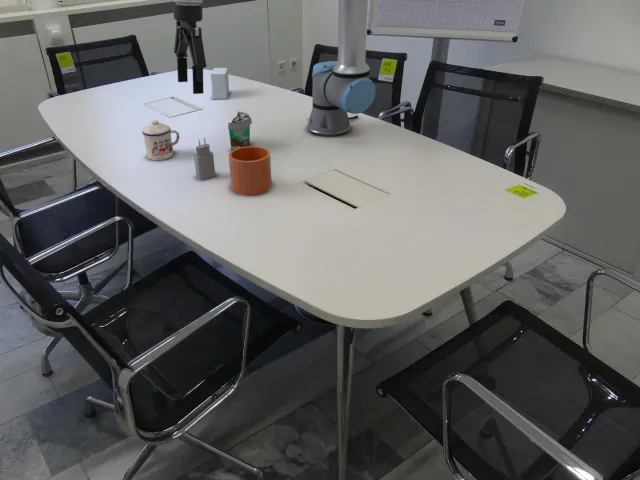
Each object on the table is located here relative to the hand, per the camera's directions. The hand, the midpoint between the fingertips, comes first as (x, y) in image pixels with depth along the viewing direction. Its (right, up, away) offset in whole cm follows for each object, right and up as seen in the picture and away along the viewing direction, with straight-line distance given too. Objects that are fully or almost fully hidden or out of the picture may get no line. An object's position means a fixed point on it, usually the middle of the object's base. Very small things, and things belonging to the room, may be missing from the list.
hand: (190, 87), depth 151 cm
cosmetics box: (0, +24, +80) cm, 84 cm away
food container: (+13, -10, +31) cm, 35 cm away
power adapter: (+3, -23, +11) cm, 26 cm away
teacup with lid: (-13, -13, +27) cm, 33 cm away
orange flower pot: (+17, -27, +4) cm, 32 cm away
